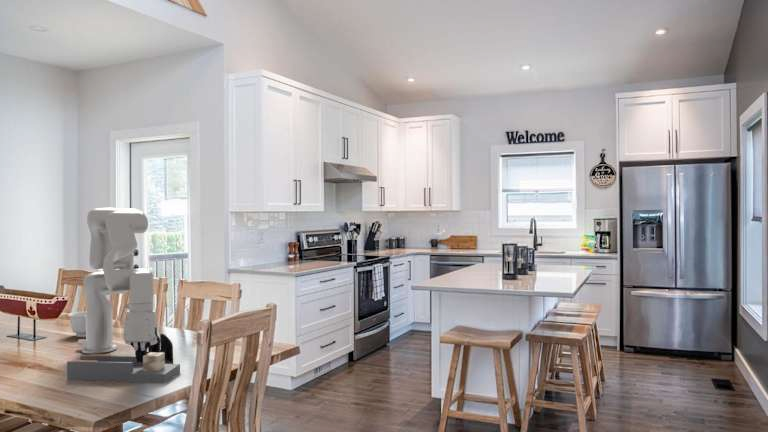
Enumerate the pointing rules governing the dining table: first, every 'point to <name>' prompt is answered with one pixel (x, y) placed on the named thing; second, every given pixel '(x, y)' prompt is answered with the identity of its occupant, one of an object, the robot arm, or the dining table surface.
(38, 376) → the dining table surface
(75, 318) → the teacup
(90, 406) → the dining table surface
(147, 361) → the birch block
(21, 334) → the dining table surface
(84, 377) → the grey stepped platform
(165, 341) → the letter holder
